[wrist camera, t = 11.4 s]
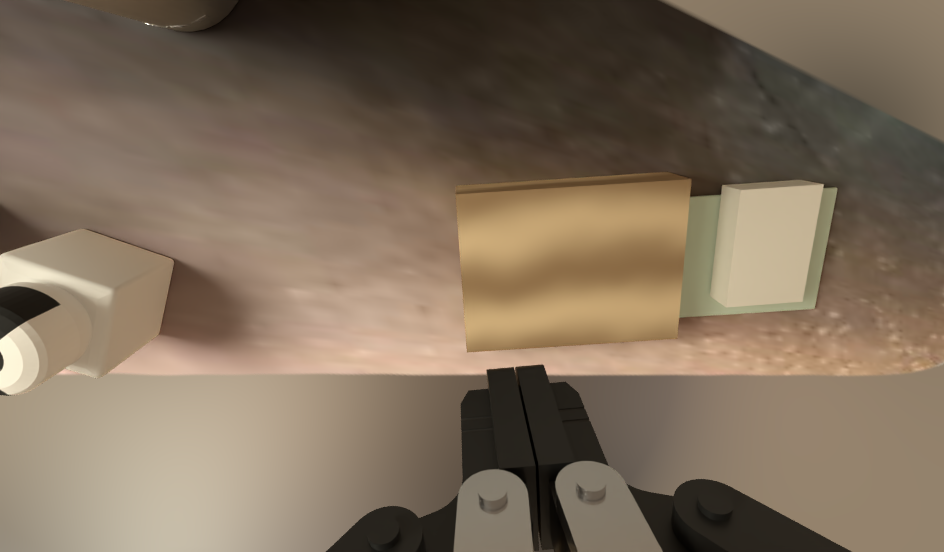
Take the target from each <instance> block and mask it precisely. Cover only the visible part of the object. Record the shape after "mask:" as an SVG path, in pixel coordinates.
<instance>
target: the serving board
mask: <svg viewBox="0 0 944 552" xmlns="http://www.w3.org/2000/svg"><path fill="white" fill-rule="evenodd" d="M691 180H692V179H689V178H686V177H683V176H679V175H676V174H673V173H669V172H658V173H642V174H627V175H611V176H596V177H580V178H565V179H549V180H534V181H519V182H503V183H488V184H472V185H457V186H456V207H457V221H458V235H459V248H460V262H461V276H462V290H463V304H464V318H465V332H466V346H467V352H480V351H495V350H510V349H526V348H541V347H556V346H571V345H587V344H602V343H617V342H633V341H648V340H663V339H677V336H678V324H679V313H680V302H681V291H682V280H683V269H684V258H685V247H686V236H687V224H688V213H689V202H690V191H691Z"/></svg>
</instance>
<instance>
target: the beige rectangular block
mask: <svg viewBox="0 0 944 552" xmlns="http://www.w3.org/2000/svg"><path fill="white" fill-rule="evenodd" d="M823 186H824V184H820V183H815V182H809V181H804V180H788V181H774V182H760V183H745V184H731V185H722V192H721V201H720V209H719V218H718V227H717V236H716V245H715V254H714V263H713V272H712V281H711V290H710V297H712V298H713V299H715V300H716V301H718V302H719V303H720V304H722V305H723V306H725V307H726V308H727V307H740V306H753V305H766V304H779V303H792V302H803V296H804V291H805V285H806V280H807V274H808V269H809V263H810V258H811V252H812V247H813V241H814V236H815V230H816V225H817V219H818V214H819V208H820V203H821V197H822V192H823Z"/></svg>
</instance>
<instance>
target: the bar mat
mask: <svg viewBox="0 0 944 552" xmlns="http://www.w3.org/2000/svg"><path fill="white" fill-rule="evenodd" d="M837 189H838V188H835V187H831V188H823V192H822V197H821V203H820V208H819V214H818V219H817V225H816V230H815V236H814V241H813V247H812V252H811V258H810V263H809V269H808V274H807V280H806V285H805V291H804V296H803V302H792V303H779V304H766V305H753V306H740V307H727V308H726V307H725V306H723V305H722V304H720V303H719V302H718V301H716V300H715V299H713V298H712V297H710V290H711V281H712V272H713V263H714V254H715V245H716V236H717V227H718V218H719V209H720V201H721V195H708V196H692V197H690V202H689V213H688V224H687V236H686V247H685V258H684V269H683V280H682V291H681V302H680V313H679V318H681V317H696V316H712V315H727V314H742V313H758V312H773V311H788V310H804V309H815V304H816V299H817V293H818V288H819V283H820V278H821V273H822V267H823V262H824V257H825V252H826V246H827V241H828V236H829V231H830V225H831V220H832V215H833V210H834V204H835V199H836V194H837Z"/></svg>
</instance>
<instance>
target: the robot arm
mask: <svg viewBox="0 0 944 552" xmlns="http://www.w3.org/2000/svg"><path fill="white" fill-rule="evenodd" d="M64 1H68V2H71V3H75V4H79V5H82V6H86V7H90V8H93V9H97V10H101V11H104V12H108V13H111V14H115V15H119V16H122V17H126V18H130V19H133V20H137V21H140V22H143V23H145V24H149V25H152V26H156V27H160V28H161V27H162V28H167V29H171V30H175V31H185V32H193V31H198V30H204V29H207V28H209V27H211V26H213V25H215V24H217V23H219V22H220V21H221V20H222V19H224V18H225V17H226V16H227V15H229V13H230V12H231V11H232V9H233V8H234V6H235V5H236V4H237V2H238V0H64ZM487 382H488V389H481V390H471V391H468V393H467V394H466V396H465V397H464V399H463V401H462V403H461V430H462V468H463V482H462V486H461V488H460V490H459V493H458V494H457V496H456V497H455V498H454V499H453V500H452V501H451V502H450V503H449V504H448V505H447V506H445V507H444V508H442V509H440V510H438V511H436V512H434V513H431V514H429V515H426V516H423V517H421V518H418V517H417V516H416V515H415V514H414V513H413V512H412V511H410V510H408V509H406V508H403V507H398V506H388V507H383V508H379V509H376V510H374V511H372V512H370V513H368V514H367V515H365V516H364V517H362V518H361V519H360V520H359V521H358V522H357V523H356V524H355V525H354V526H353V527H352V528H351V529H349V530H348V531H347V532H346V533H345V534H344V535H343V536H342V537H341V538H340V539H339V540H338V541H337V542H336V543H335V544H334V545H333V546H332V547H330V548H329V549H328V550H327V551H326V552H534V551H538V550H539V542H538V532H539V537H540V543H541V548H542V550H547V549H554V552H851V551H849V550H848V549H846V548H844V547H842V546H840V545H838V544H836V543H834V542H832V541H831V540H829V539H827V538H825V537H823V536H821V535H819V534H818V533H816V532H814V531H812V530H810V529H808V528H806V527H804V526H803V525H801V524H799V523H797V522H795V521H793V520H791V519H790V518H788V517H786V516H784V515H782V514H780V513H778V512H777V511H774V510H773V509H771V508H769V507H767V506H765V505H763V504H762V503H760V502H758V501H756V500H754V499H752V498H750V497H749V496H747V495H745V494H743V493H741V492H739V491H737V490H735V489H733V488H732V487H730V486H728V485H725V484H723V483H720V482H717V481H713V480H706V479H696V480H690V481H687V482H685V483H683V484H681V485H680V486H679V487H678V488H677V489H676V491H675V494H674V496H669V495H663V494H657V493H651V492H647V491H642V490H639V489H636V488H634V487H632V486H630V485H628V484H626V483H625V481H624V479H623V478H622V476H621V475H620V474H619V473H618V472H616V471H615V470H614V469H612V468H611V467H609V466H608V463H607V461H606V459H605V457H604V454H603V451H602V449H601V447H600V444H599V442H598V439H597V437H596V434H595V432H594V430H593V427H592V425H591V422H590V421H589V417H588V415H587V413H586V410H585V409H584V405H583V403H582V400H581V398H580V396H579V393H578V392H577V391H576V390H574V389H573V388H572V387H571V386H570V385H569V384H567V383H566V382H558V383H549V380H548V377H547V374H546V371H545V368H544V365H532V366H521V367H516V368H515V370H514V367H511V368H500V369H489V370H487Z"/></svg>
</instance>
